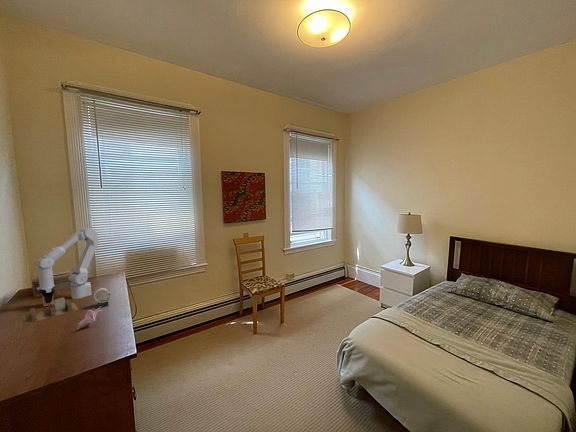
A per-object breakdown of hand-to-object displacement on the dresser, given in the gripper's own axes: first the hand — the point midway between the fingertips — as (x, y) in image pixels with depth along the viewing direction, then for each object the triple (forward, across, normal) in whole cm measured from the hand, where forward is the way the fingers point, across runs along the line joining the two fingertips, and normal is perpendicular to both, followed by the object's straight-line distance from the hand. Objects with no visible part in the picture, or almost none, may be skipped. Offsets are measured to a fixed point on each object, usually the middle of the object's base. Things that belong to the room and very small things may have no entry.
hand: (48, 301), depth 136 cm
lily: (+4, +46, +10) cm, 47 cm away
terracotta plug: (+2, 0, 0) cm, 2 cm away
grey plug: (+2, +13, +3) cm, 14 cm away
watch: (+4, +25, +20) cm, 32 cm away
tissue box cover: (+4, -35, +9) cm, 36 cm away
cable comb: (+3, +13, 0) cm, 13 cm away
